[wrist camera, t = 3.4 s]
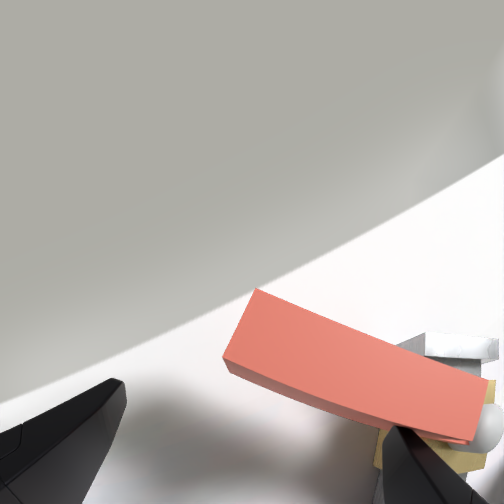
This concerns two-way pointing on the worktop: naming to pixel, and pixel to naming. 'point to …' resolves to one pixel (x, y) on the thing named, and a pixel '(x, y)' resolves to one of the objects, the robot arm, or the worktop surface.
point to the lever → (360, 376)
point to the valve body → (460, 357)
